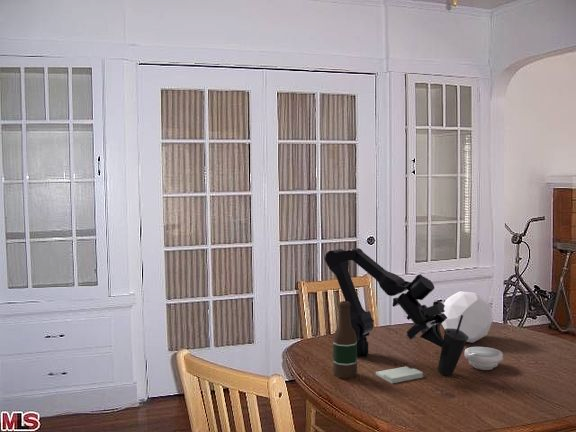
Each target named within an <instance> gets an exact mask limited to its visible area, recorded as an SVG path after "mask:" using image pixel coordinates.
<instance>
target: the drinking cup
mask: <svg viewBox="0 0 576 432" xmlns="http://www.w3.org/2000/svg"><path fill="white" fill-rule="evenodd" d="M462 318H463V315H461V317H460V321H459V324H458V327H457V329H454V328H447V329H444V331H443V332H444V335H443V344H442V347H441V349H440V356H439V360H438V365H437V371H438V372H439V373H440V374H441V375H444V376H447V377H448V376H449V377H451V376H453V375H454V371H455V369H456V367H457V365H458V362H459V360H460V357H461V355H462V353H463V351H464V349H465V346H466V343H467V342H466V341H467V340H468V339H469V337H468V335H466V334H465V333H464V332H462V331H461V330H459V328H460V325H461V322H462Z"/></svg>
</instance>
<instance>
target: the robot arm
mask: <svg viewBox="0 0 576 432" xmlns="http://www.w3.org/2000/svg"><path fill="white" fill-rule="evenodd" d="M324 261H325V263H326V265H327V267H328V269H329V270H330V271H331V272H332V273H333V274H334V275H335V277H336V280H337V283H338V286H339V288H340V290H341V293H342V295H343V298H344V301H348V302H350V320H351V326H352V328H353V329H354V331H355V333H356V337H357V358H360V357H361V358H363V357H364V358H366V357H367V358H368V357H369V341H368V340H367V339H368V338H367V337H369V336H370V334H371V332H372V331H373V328H374V326H375V325H374V322H375V320H374V319H373V317H372V313H371V311H370V310H368V311H366V310H365V309H364V308H363V306H362V304H361V301H360V297H359V295H358V293H357V290H356V287H355V285H354V282H353V280H352V277H351V275H350V270H349V267H350V266H349V265H350V261H352V262H353V263H356V265H358V267H360V268H362V269H363V270H364V271H365V272H366V273H367V274H369V275H370V276H371V277H372V278H374V280H376V282H377V283H378V285H379V287H380V289H382V291H383V292H384V293H385V294H386V295H387V296H388V297H389V296H390V297H394V296H397V295H399V296H398V297H394V298H392V305H391V306H392V307H394V308H395V307H397V306H400V308H401V309H402V310H403V312H405V314H406V315H407V316H406V317H405V318H406V319H407V320H408V321H410V320H411V321H412V323H413V325H412V326H411V327H410V328H409V329H408V330H407V331H406V336H407V338H408V339H409V340H410V341H412V340H414V339H415V338H416V336H417V335H418V334H419V333H421V335H420V336H419V337H420V339H424V340H426V341H428V342H430V343H432V344H434V345H436V346H438V347H440V348H442V344H443V339H444V337H443V335H442V333H441V330H440V328H441V325H442V324H441V323H442V322H444V321H445V320H446V319H447V317H446V315H445V314H444V313H443V312H445V311H444V307H445V305H444V303H443V302H442V301H441V300H439V299H438V300H435V301H433V303H432V305H430V306H427V305H426V304H421V303H420V302H419V301H423V300H424V299H425V298H426V297H427V296H428V295H430V293H432V292H433V291H434V290H435V285H434V283H433V282H432V281H431V280H430V279H429V278H427V277H425V276H423V275H422V273H421V274H417V275H416V276H415V277H414V279H413V280H412V281H407V280H405V279H404V278H403V277H401V276H400V275H398V274H395V273H393V272H390V271H389V270H386V269H385V268H384V267H382V266H381V265H380V264H379V263H377V262H376V261H375V260H374V259H372V257H370V256H369V255H367V254H366V252H364V251H363V250H362V249H361V248H358V247H357V248H351V249H348V250H346V249H345V250H344V249H341V248H338V249H333V250H329V251H327V252H326V253H325V256H324Z"/></svg>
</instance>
